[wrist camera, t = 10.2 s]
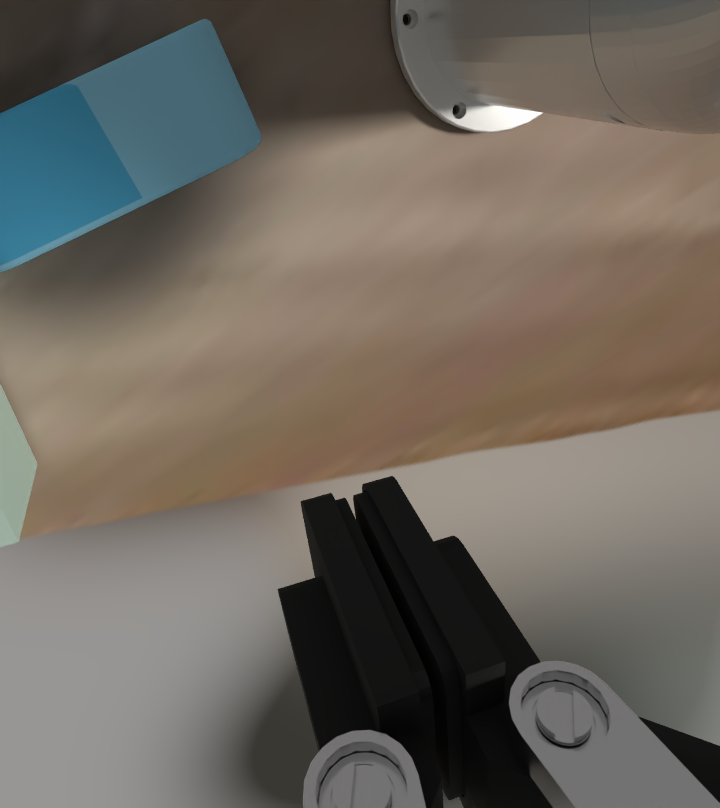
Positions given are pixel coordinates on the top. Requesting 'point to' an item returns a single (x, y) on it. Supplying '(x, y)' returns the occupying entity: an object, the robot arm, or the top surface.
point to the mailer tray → (13, 474)
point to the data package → (118, 140)
